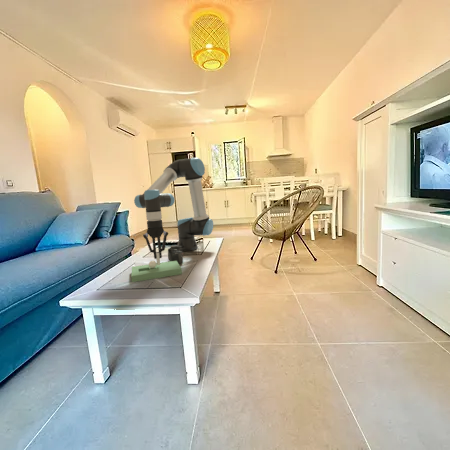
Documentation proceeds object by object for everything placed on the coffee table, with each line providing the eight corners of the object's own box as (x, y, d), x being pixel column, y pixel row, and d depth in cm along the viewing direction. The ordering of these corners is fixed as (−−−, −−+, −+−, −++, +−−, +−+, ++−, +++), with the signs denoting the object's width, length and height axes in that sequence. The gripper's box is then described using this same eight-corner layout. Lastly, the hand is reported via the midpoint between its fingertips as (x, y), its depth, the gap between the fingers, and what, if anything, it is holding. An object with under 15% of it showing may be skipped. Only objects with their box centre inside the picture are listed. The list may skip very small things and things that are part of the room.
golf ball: (149, 259, 128) (147, 266, 128) (150, 260, 125) (148, 268, 125) (156, 260, 130) (154, 267, 130) (158, 262, 126) (155, 270, 126)
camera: (189, 261, 148) (187, 245, 146) (175, 265, 141) (173, 248, 139) (176, 258, 157) (175, 243, 156) (162, 262, 150) (161, 246, 149)
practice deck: (176, 265, 141) (176, 260, 140) (182, 274, 125) (181, 268, 124) (132, 272, 133) (132, 266, 132) (132, 282, 117) (131, 276, 116)
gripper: (166, 218, 131) (170, 260, 134) (140, 220, 127) (145, 264, 130) (168, 219, 124) (172, 264, 127) (141, 221, 120) (145, 268, 123)
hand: (158, 264), depth 128 cm, fingers closed
